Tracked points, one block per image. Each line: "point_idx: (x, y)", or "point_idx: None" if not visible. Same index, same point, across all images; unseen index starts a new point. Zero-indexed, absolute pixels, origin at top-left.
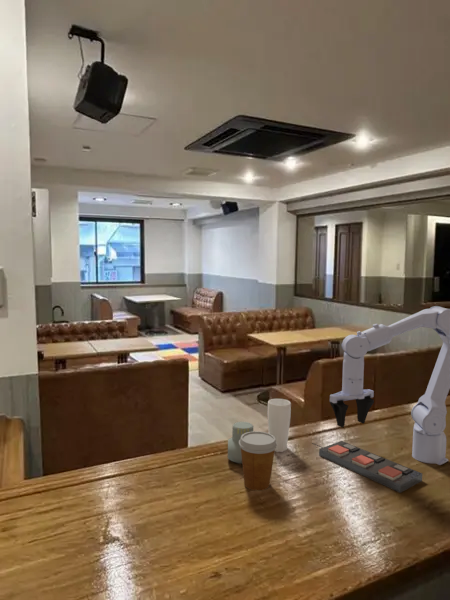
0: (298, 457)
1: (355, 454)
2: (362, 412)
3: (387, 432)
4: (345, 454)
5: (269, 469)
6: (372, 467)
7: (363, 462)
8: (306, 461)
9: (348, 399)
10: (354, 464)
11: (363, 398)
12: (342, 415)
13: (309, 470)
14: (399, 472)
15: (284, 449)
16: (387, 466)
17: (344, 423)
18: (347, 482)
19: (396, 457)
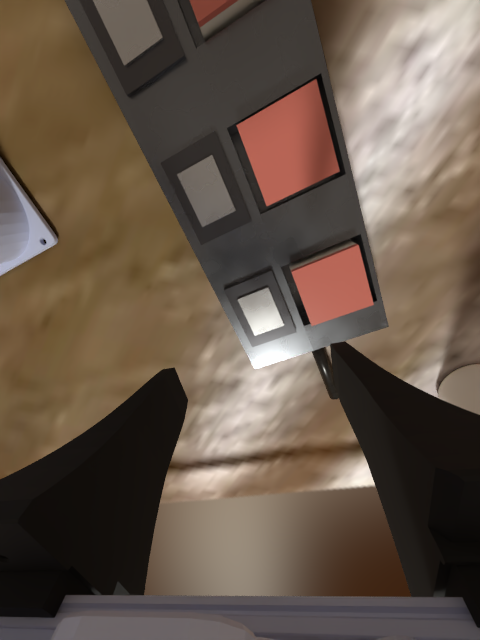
0: (432, 335)
1: (270, 246)
2: (148, 430)
3: (54, 418)
4: (312, 258)
5: None
6: (272, 76)
7: (311, 104)
8: (428, 302)
9: (320, 611)
10: (342, 138)
11: (92, 620)
12: (413, 386)
13: (474, 231)
14: None
15: (478, 373)
16: (203, 12)
17: (340, 352)
18: (400, 82)
19: (86, 264)
